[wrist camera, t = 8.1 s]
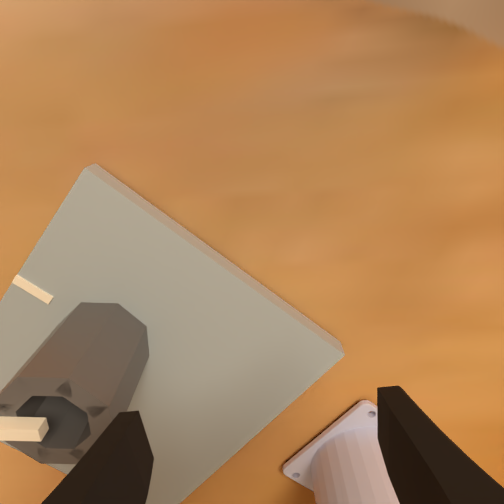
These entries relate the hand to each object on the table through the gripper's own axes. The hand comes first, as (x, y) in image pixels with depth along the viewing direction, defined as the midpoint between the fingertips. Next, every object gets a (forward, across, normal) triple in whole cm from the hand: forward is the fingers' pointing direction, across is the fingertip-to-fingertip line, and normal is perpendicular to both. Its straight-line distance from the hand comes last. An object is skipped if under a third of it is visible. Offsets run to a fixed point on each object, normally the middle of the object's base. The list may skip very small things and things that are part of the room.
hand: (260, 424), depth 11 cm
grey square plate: (+9, +8, +5) cm, 13 cm away
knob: (+8, +8, +2) cm, 12 cm away
